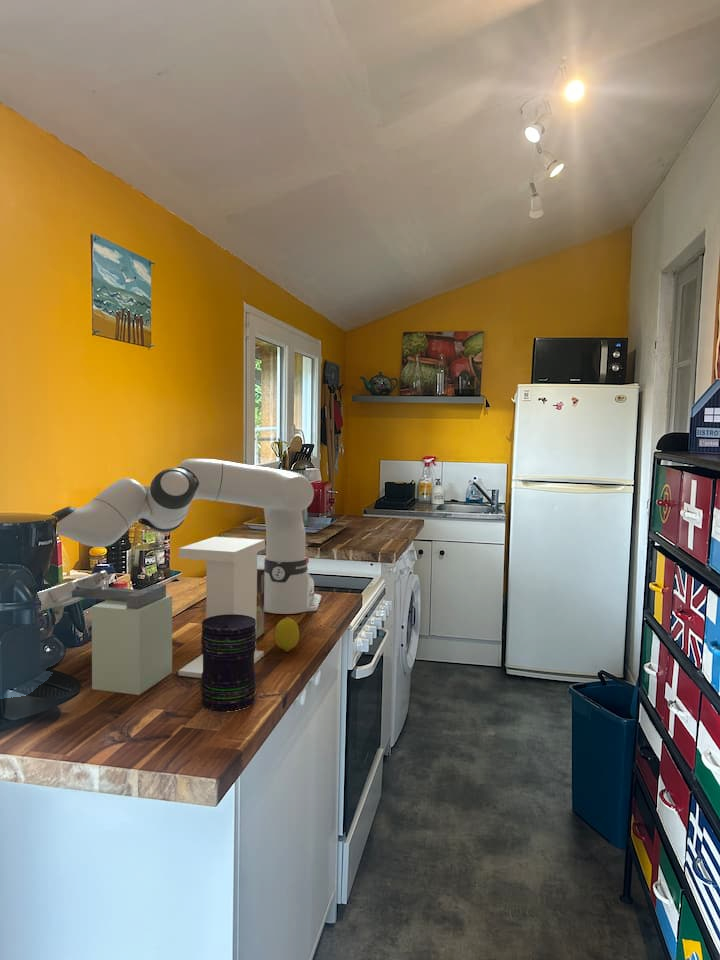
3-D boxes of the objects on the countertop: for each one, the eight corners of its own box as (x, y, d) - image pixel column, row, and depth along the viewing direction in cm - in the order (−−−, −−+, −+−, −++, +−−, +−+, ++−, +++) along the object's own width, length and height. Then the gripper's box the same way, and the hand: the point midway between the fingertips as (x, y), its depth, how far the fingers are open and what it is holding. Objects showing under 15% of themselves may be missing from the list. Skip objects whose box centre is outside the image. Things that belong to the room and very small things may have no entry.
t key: (91, 589, 135) (90, 578, 134) (165, 596, 131) (165, 584, 130) (58, 601, 125) (58, 589, 125) (138, 609, 121) (138, 596, 121)
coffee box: (240, 630, 162) (241, 567, 161) (264, 632, 160) (265, 568, 159) (225, 642, 153) (226, 574, 152) (251, 644, 152) (252, 576, 150)
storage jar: (208, 690, 124) (209, 613, 123) (259, 691, 124) (260, 614, 123) (193, 712, 114) (194, 628, 113) (249, 714, 114) (250, 630, 113)
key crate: (128, 667, 135) (128, 591, 134) (172, 672, 132) (172, 595, 131) (92, 689, 123) (91, 606, 122) (139, 695, 121) (139, 610, 120)
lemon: (279, 657, 143) (280, 621, 143) (270, 649, 148) (271, 615, 147) (302, 653, 146) (303, 619, 145) (293, 646, 151) (294, 612, 150)
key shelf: (213, 650, 147) (214, 536, 145) (263, 655, 144) (265, 539, 142) (178, 675, 131) (179, 548, 129) (233, 681, 128) (234, 552, 127)
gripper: (79, 608, 142) (128, 581, 139) (9, 636, 122) (64, 605, 119) (66, 583, 142) (114, 555, 139) (-6, 606, 122) (48, 575, 119)
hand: (90, 578), depth 129 cm, fingers open, 8 cm apart
